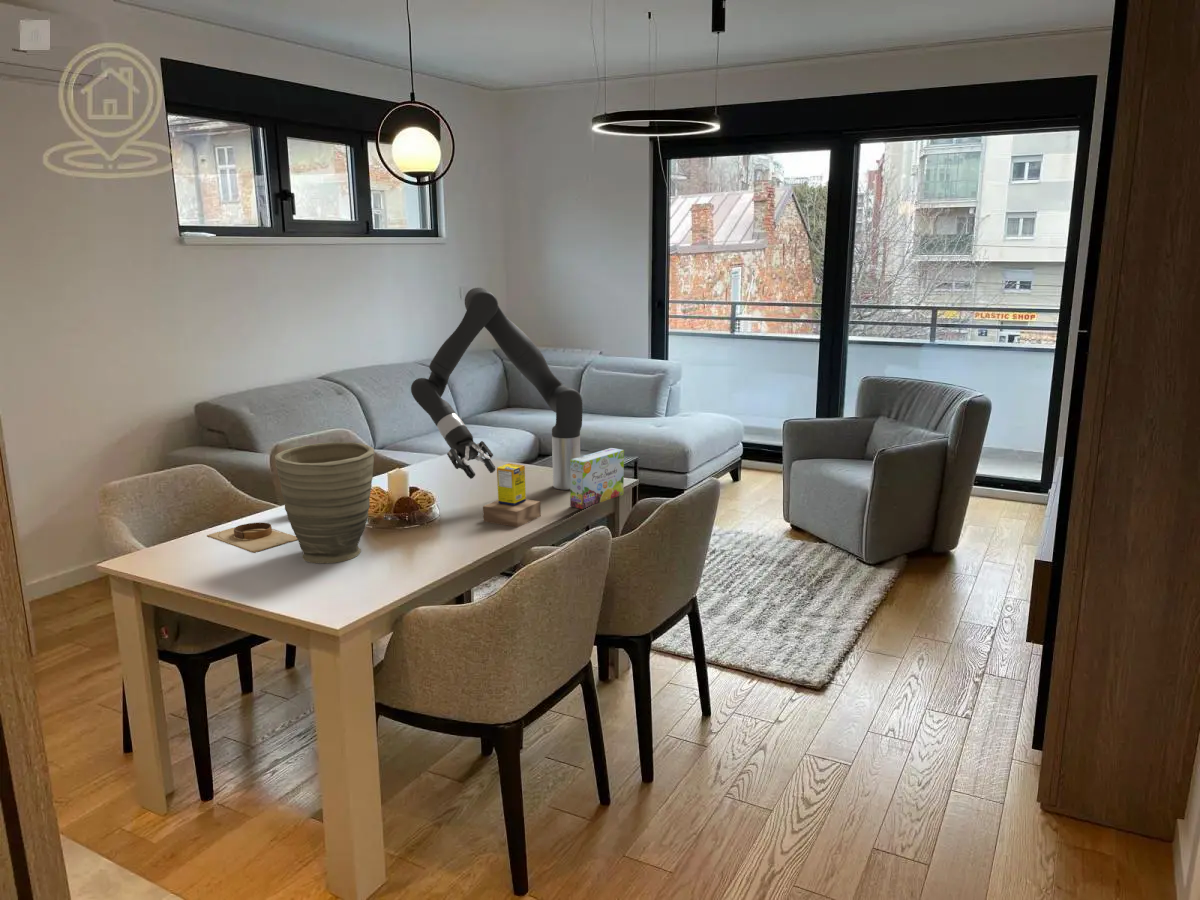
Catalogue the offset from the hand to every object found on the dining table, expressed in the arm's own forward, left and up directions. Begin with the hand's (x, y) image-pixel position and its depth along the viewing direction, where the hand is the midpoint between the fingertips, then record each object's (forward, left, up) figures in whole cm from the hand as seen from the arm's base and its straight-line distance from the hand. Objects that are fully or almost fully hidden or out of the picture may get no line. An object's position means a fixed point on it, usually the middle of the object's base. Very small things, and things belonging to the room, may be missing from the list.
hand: (483, 474), depth 261 cm
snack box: (-23, +27, -12) cm, 38 cm away
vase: (+47, -19, -12) cm, 52 cm away
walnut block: (+3, +11, -12) cm, 17 cm away
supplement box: (+2, +10, -7) cm, 13 cm away
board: (+43, -48, -13) cm, 66 cm away
